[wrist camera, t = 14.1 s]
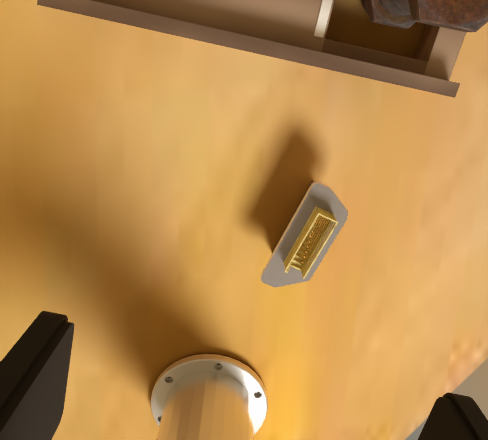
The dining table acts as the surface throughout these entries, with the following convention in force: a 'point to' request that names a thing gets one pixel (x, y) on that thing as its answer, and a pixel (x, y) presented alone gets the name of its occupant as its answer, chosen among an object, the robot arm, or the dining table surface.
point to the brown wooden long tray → (284, 35)
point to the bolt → (429, 13)
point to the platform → (306, 237)
